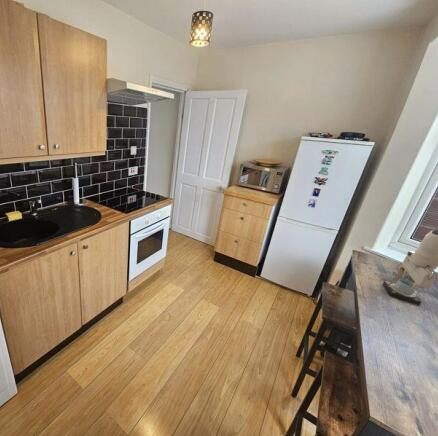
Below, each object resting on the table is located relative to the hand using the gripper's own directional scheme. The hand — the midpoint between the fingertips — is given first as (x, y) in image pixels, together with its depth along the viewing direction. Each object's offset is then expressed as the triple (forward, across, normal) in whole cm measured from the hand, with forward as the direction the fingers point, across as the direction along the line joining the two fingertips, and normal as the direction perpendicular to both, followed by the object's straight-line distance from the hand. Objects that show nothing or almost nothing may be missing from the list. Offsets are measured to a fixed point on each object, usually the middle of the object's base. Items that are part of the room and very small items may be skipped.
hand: (408, 283), depth 115 cm
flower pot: (+8, +16, -6) cm, 18 cm away
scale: (+7, 0, 0) cm, 7 cm away
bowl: (+4, 0, 0) cm, 4 cm away
